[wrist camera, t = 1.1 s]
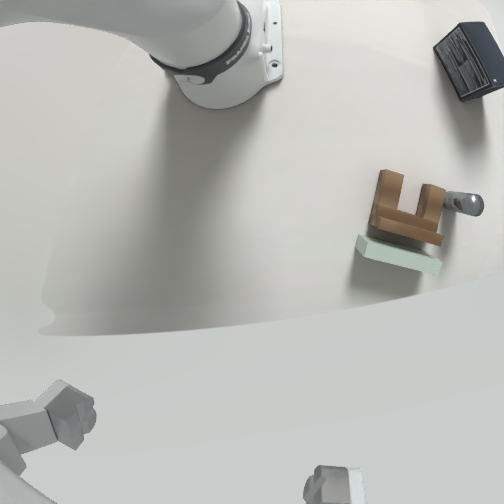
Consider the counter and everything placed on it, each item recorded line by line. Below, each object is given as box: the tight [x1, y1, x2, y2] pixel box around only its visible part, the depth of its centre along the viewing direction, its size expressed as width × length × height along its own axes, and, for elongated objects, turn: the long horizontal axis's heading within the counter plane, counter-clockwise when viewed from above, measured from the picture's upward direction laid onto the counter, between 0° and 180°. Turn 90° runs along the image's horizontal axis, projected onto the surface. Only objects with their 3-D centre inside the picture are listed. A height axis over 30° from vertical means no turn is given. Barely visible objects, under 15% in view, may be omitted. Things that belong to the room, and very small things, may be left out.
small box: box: [433, 22, 504, 102], centre depth 28 cm, size 11×6×10 cm, turn 23°
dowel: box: [443, 191, 484, 216], centre depth 35 cm, size 3×3×8 cm
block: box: [369, 170, 446, 247], centre depth 37 cm, size 8×10×6 cm
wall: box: [355, 234, 443, 276], centre depth 39 cm, size 2×12×6 cm, turn 79°
